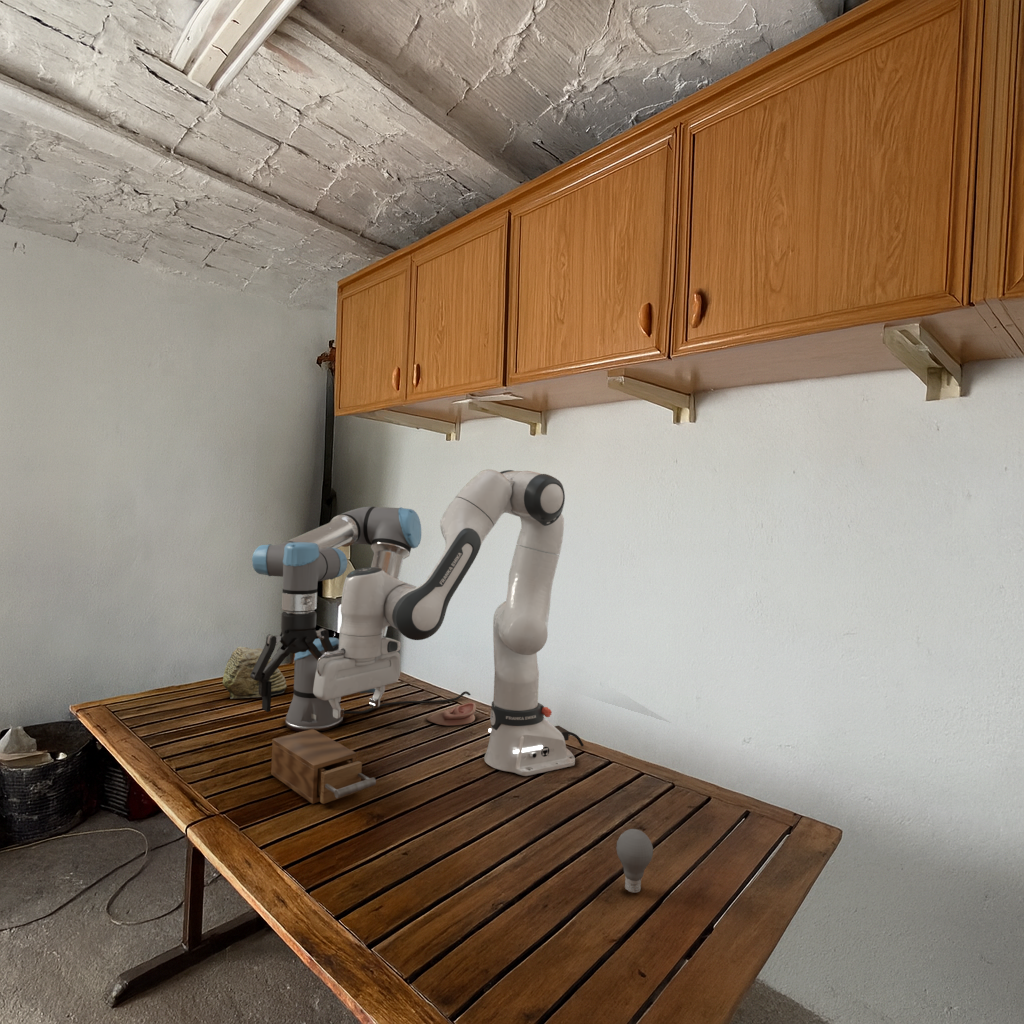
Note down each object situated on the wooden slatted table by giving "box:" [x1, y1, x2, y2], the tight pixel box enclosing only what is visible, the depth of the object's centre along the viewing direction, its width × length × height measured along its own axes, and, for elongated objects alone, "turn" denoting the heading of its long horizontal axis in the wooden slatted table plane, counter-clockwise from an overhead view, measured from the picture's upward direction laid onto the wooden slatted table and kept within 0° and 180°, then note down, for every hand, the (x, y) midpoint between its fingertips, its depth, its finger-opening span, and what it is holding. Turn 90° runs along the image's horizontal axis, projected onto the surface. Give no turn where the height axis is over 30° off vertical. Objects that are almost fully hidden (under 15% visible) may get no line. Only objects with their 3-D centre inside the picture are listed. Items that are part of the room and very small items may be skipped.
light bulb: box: [615, 828, 654, 894], centre depth 106 cm, size 6×6×10 cm
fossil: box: [222, 646, 288, 699], centre depth 198 cm, size 9×18×15 cm, turn 132°
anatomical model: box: [426, 702, 477, 726], centre depth 183 cm, size 13×4×12 cm
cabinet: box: [270, 729, 357, 805], centre depth 140 cm, size 19×10×8 cm, turn 47°
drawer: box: [317, 759, 377, 805], centre depth 136 cm, size 23×9×6 cm, turn 47°
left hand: (295, 704), depth 144 cm, fingers open, 13 cm apart
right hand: (356, 711), depth 132 cm, fingers open, 8 cm apart
